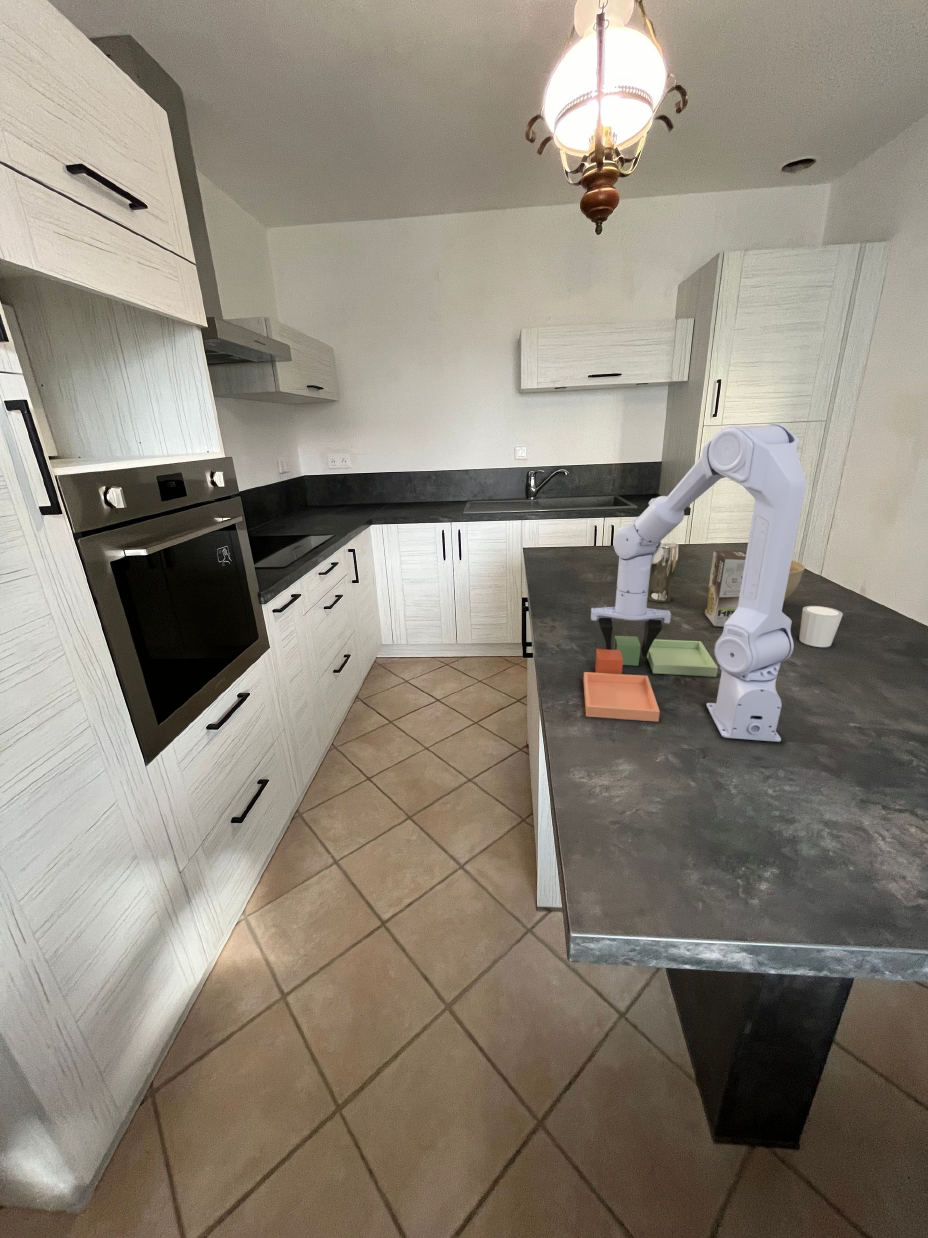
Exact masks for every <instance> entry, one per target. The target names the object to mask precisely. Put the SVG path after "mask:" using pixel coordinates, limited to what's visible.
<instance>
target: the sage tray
mask: <svg viewBox="0 0 928 1238" xmlns="http://www.w3.org/2000/svg"><path fill="white" fill-rule="evenodd" d="M646 658H647V660H648V663H649V667H650V669H651V672H652V674H661V675H676V676H678V675H680V676H694V677H696V676H697V677H698V676H699V677H715V678H717V675H718V671H719V667H718V665H717V664H716V662H715V660H714V659H713V658H712V656H711V654H710V653H709V652H708V650H707V648H706V646H705V645H704V644H703V642H702V641H700V640H680V639H679V640H678V639H658V638H657V639H656V638H655V640H654V641H653V643H652V645H651V647H650V649H649V652H648V655H647V657H646Z"/></svg>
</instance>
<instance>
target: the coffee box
mask: <svg viewBox="0 0 928 1238" xmlns="http://www.w3.org/2000/svg"><path fill="white" fill-rule="evenodd" d="M746 553H747V552H745V551H743V550H735V549H733V550H732V549H731V550H713V555H712V561H711V567H710V568H711V569H710V574H709V583H708V589H707V596H706V603H705V609H704V615H705V616H706V617H707V618H708V620H709V621H710V622H711V624H712V625H713V626H714V627H722V628H724V624H725V622H726V621H727V620H728V619H729V618H730V616H731V615H732V614H733V613H734V612H735V610H736V609H737V608H738V603H739V597H740V590H741V584H742V578H743V572H744V566H745V559H746Z"/></svg>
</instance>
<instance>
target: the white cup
mask: <svg viewBox="0 0 928 1238" xmlns="http://www.w3.org/2000/svg"><path fill="white" fill-rule="evenodd" d="M843 615H844V613H843V612H842V611H840V610H839V609H836V608H833V607H827V606H822V605H807V606H803V607H802V613H801V620H800V628H799V639H798V640H799V641H800V642H801V643H803V644H804V645H807V646H812V647H817V648H829V647H831V646H832V644H833V641H834V639H835V636H836V633H837V631H838V628H839V626H840V623H841V621H842V618H843Z"/></svg>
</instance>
